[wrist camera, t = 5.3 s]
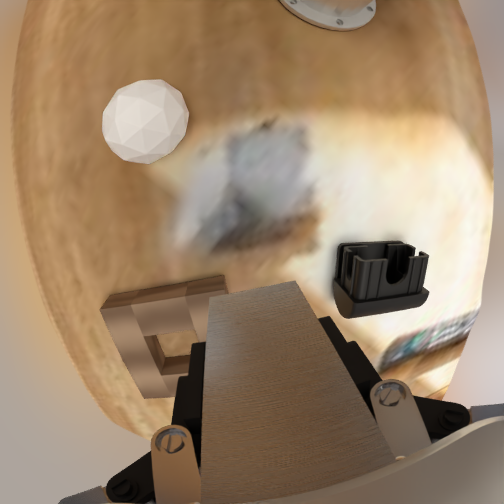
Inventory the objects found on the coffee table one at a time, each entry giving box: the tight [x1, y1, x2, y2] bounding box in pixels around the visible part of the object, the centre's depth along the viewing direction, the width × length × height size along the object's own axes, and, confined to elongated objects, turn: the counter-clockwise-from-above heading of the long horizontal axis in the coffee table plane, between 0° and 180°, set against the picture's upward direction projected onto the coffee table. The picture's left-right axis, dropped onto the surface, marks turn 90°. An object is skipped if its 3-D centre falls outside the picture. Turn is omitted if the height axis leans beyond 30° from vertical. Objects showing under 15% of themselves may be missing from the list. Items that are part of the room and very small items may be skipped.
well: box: [100, 276, 228, 399], centre depth 31 cm, size 14×14×4 cm
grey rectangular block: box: [201, 281, 397, 504], centre depth 9 cm, size 4×4×10 cm
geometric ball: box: [102, 79, 189, 164], centre depth 21 cm, size 8×8×8 cm
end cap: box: [334, 241, 429, 319], centre depth 29 cm, size 10×7×7 cm
